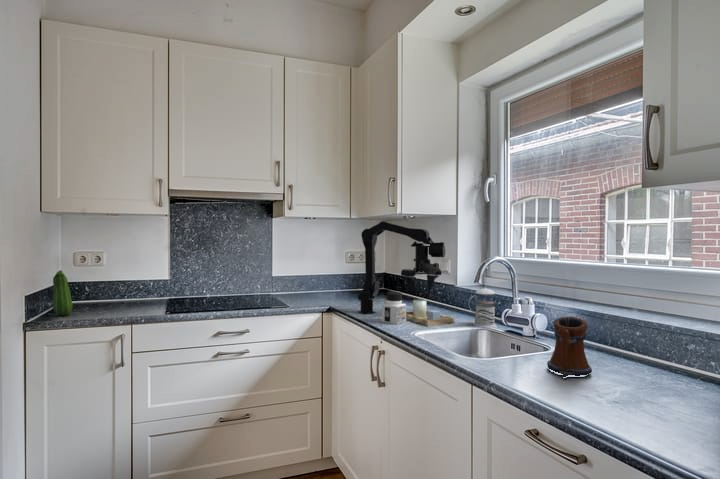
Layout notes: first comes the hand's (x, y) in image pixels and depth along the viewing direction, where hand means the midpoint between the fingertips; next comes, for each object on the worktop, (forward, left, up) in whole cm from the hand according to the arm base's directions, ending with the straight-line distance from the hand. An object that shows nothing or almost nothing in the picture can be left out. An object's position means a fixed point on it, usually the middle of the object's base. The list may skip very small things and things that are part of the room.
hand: (421, 291), depth 202 cm
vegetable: (-69, -142, -12) cm, 158 cm away
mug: (+84, -12, -12) cm, 85 cm away
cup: (+2, -2, -11) cm, 11 cm away
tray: (+7, -2, -12) cm, 14 cm away
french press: (+25, +14, -12) cm, 31 cm away
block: (+12, -2, -11) cm, 16 cm away
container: (+4, -17, -12) cm, 21 cm away
